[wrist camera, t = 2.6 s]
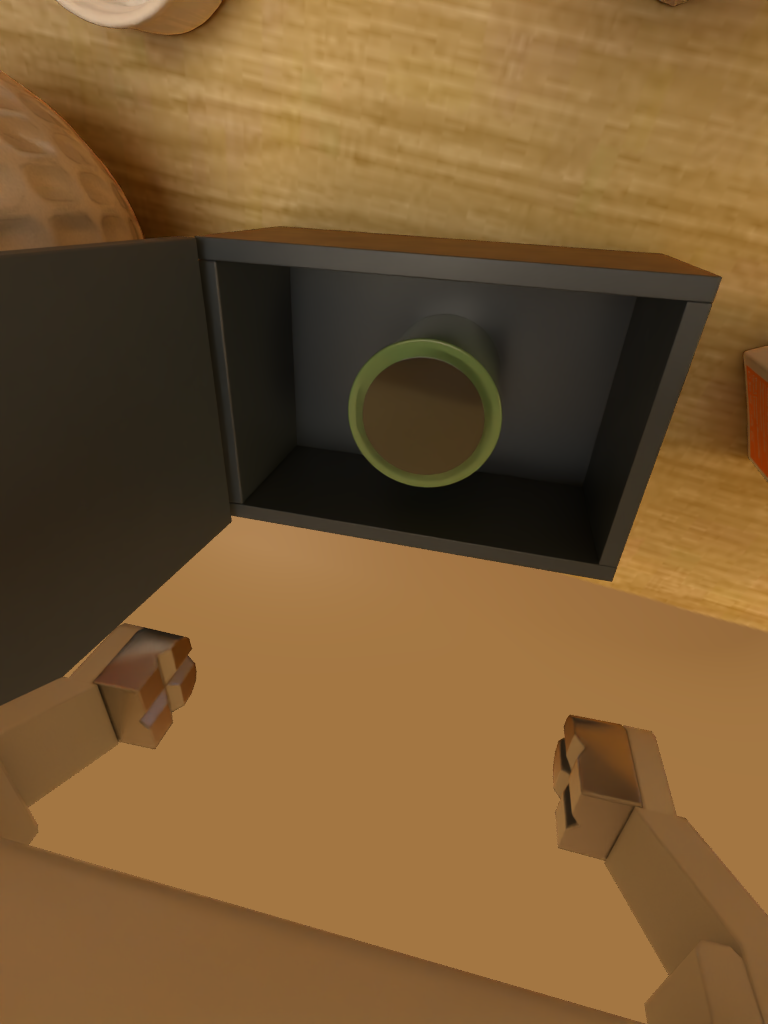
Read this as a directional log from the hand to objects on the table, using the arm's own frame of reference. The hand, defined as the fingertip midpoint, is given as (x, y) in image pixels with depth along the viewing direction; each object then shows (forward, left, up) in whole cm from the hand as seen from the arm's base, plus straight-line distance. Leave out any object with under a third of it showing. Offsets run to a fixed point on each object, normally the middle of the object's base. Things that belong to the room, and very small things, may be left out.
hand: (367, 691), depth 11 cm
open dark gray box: (+1, -1, -21) cm, 21 cm away
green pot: (+1, -1, -20) cm, 20 cm away
